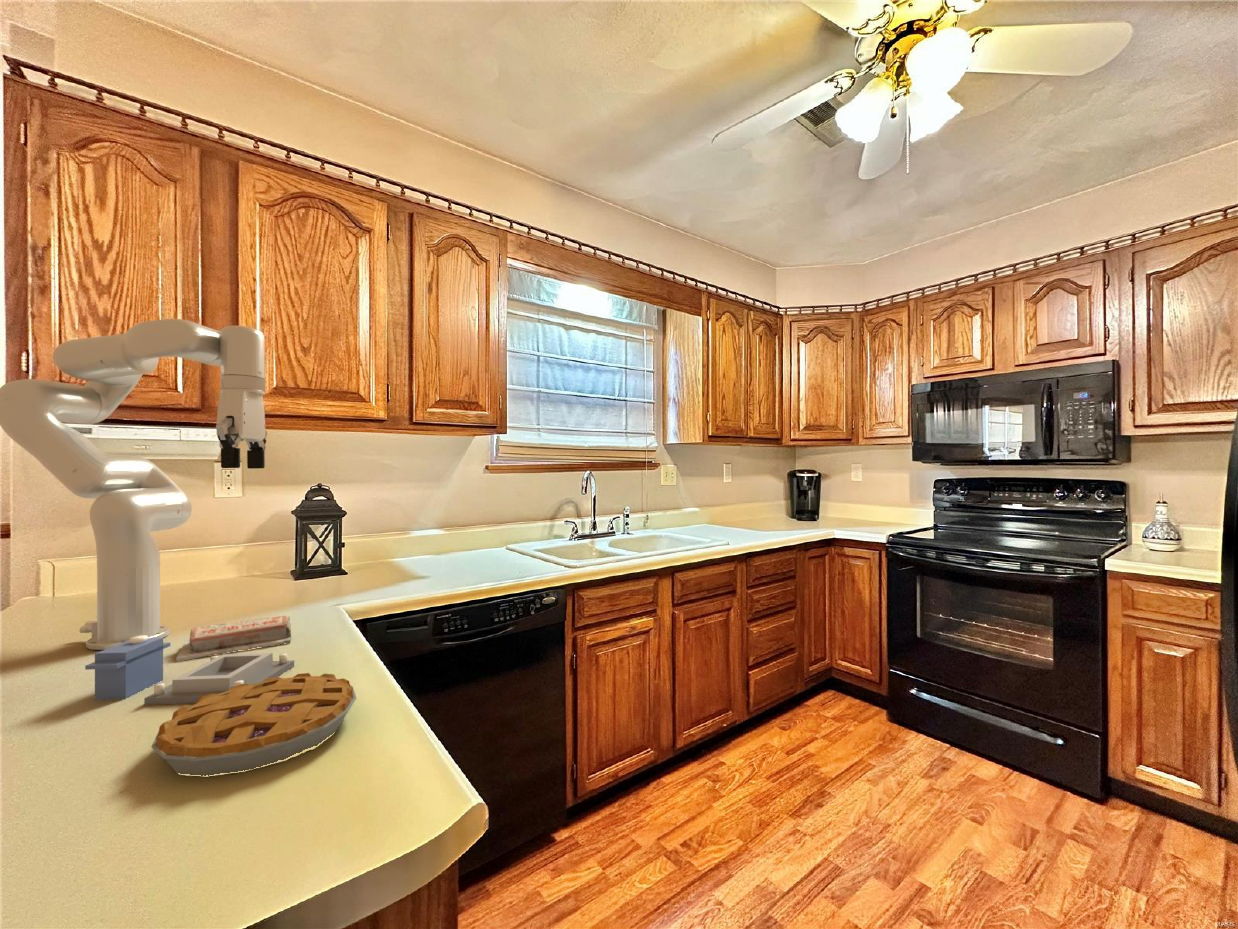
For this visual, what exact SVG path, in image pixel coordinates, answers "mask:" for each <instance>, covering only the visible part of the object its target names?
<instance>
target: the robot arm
mask: <svg viewBox="0 0 1238 929" xmlns="http://www.w3.org/2000/svg"><path fill="white" fill-rule="evenodd" d="M265 343H266V342H265V336H264V333H263V332H262V331H260V330H259V329H256V328H253V327H250V326H243V325H228V326H227V325H226V326H224V327H223V328H221V330H218V329H214V328H211V327H208V326H205V325H202V324H200V323H197V322H193V321H190V320H188V319H181V318H180V319H179V318H166V319H164V318H163V319H157V320H156V319H154V320H147V321H142V322H139V323H136V324H135V325H133V326H131V327H130V328H129V329H128V330H126V332H125V333H119V334H118V333H117V334H110V335H102V336H91V337H85V338H84V337H81V338H75V339H70V340H67V341H64V342H62V343H60V344H59V345H57V346H56V347H55V348H54V350H53V352H52V360H53V363H54V365H55V366H56V367H57V368H58V370H60V371H61V372H62V373H64V374H66V375H67V376H69V377H72V378H75V379H78V380H83V381H86V383H85V384H84V385H79V384H74V383H73V384H72V383H66V382H62V381H61V382H60V381H53V380H47V379H37V378H35V379H34V378H24V379H16V380H13V381H8V382H6V383H5V384H3V385H2V386H0V428H1V429H2V430H3V432H4V433H5V434H7V436H8V437H9V438H10V439H11V440H12V441H13V442H15V443H16V444H17V445H19V446H20V447H21V448H23V449H24V450H25V451H27V452H28V453H29V454H30V455H32V456H33V457H34V458H35V459H36V460H37V461H38V462H39V463H40V464H41V465H42V467H44V468H45V469H46V470H47V471H48V472H49V473H50V474H51V475H52V476H54V478H56V480H58V481H59V482H60V483H61V484H62V485H63V486H64V487H65V488H66V489H67V490H69V492H71V493H72V494H73V495H76V496H77V497H79V498H82V499H83V498H84V499H95V500H94V501H93V502H92V504H91V507H90V509H89V520H90V525H91V528H92V531H93V535H94V541H95V547H96V620H92V621H89V620H88V621H86V622H85V624H84V625H83V626H81V627H80V628H79V631H78V632H79V633H81V634H87V633H88V634H90V633H91V638H89V639H88V640H87V641H86V642H85V647H86V648H87V649H89V650H92V651H93V650H97V651H103V650H106V649H108V648H111V647H114V646H116V645H119V644H122V643H124V642H127V641H129V639H130V638H132V637H135V636H140V635H148V638H163V639H164V638H165V637H167V636H168V635H169V634H170V631H171V630H170V627H169V626H165V625H161V556H160V555H161V554H160V549H159V546H158V544H157V542H156V540H155V538H154V536H153V535H152V533H153V532H159V531H166V530H171V529H175V528H178V527H180V526H182V525H183V524H185V523H186V522H187V521H188V520H189V519H190V517H191V515H192V503H191V500H190V498H189V497H188V495H187V493H186V492H184V491H183V490H182V488H180V486H178V485H177V483H176V482H174V481H173V480H172V479H171V478H170V477H169V476H168V475H167V474H166V473H165V472H164V471H163V470H162V469H161V468H159V467H158V465H156V464H155V463H153V461H151V460H148V459H146V458H145V457H142V456H138V455H131V454H116V453H115V454H114V453H108V452H105V451H103V450H102V449H100V448H99V447H97V446H96V445H95V444H94V443H92V441H91V440H90V439H88V437H87V436H86V435H84V434H83V433H81V432H79V431H78V430H76V429H74V428H72V427H70V426H68V425H67V424H65V423H69V424H79V425H93V424H98V423H100V422H103V421H105V420H106V419H107V418H109V417H110V415H112V414H113V412H114V411H116V409H117V408H118V407H119V406H120V404H122V403H123V401H124V400H125V399H126V398H127V397H128V395H130V393H131V392H132V391H133V390H134V388H135V387H136V386H137V385H138V384H139V382H140V381H141V379H142V376H143V375H146V374H150V373H152V372H154V371H155V370H156V369H157V367H158V365H159V360H160V359H161V358H172V357H173V358H175V357H176V358H180V359H181V358H182V359H186V360H188V361H189V360H190V361H193V362H197V363H201V364H205V365H209V366H212V367H213V366H214V367H220V393H219V397H218V401H217V413H216V425H215V429H216V437H217V439H218V442H219V444H218V446H219V448H220V467H221V469H240V468H241V448H240V447H239V445H240V443H241V442H242V441H244V440H245V443H246V445H247V447H248V450H247V451H246V459H247V460H246V465H247V469H251V470H253V469H255V470H256V469H265V466H266V465H265V464H266V463H265V461H266V460H265V457H266V456H265V453H266V452H265V451H266V443H267V436H268V431H267V430H266V415H265V413H266V412H265V403H264V397H263V396H265V395H266V379H265V378H266V369H265V368H266V367H265V366H266V365H265V364H266V361H265V360H266V358H265V357H266V356H265V355H266V354H265V352H266V350H265V348H266V347H265V345H266V344H265Z"/></svg>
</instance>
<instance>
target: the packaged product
mask: <svg viewBox="0 0 1238 929" xmlns="http://www.w3.org/2000/svg"><path fill="white" fill-rule="evenodd" d="M290 620H291V619H290V616H289V615H282V616H280V615H279V616H272V617H265V618H255V619H249V620H242V621H241V620H240V621H234V622H232V621H231V622H227V623H226V622H225V623H217V624H211V625H210V624H209V625H202V626H201V625H200V626H196V627H193V628H191V629H190V634H189V639H188V640H185V641H184V643H183V645H182V646H181V649H180V650H179V652H178V653H177V656H176V657H175V658H176V659H175V661H176V662H183V661H188V660H189V661H190V659H191V660H195V658H196V659H200V658H199V657H201V658H207V657H206V656H209V655H214V654H222V655H223V653H227V652H233V651H238V650H247V651H249V650H248V649H252V648H257V647H265V648H269V647H268V646H271V647H274V646H273V645H277V646H281V645H280V644H284V643H290V644H291V642H292V628H291V626H292V624H291V621H290ZM284 645H285V644H284ZM209 657H210V656H209Z"/></svg>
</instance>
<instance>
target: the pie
mask: <svg viewBox="0 0 1238 929" xmlns="http://www.w3.org/2000/svg"><path fill="white" fill-rule="evenodd" d="M356 695H357V694H356V691H355V689H354V687H353V685H351V684H350V681H349V680H348V679H346V678H345V677H344V678H336V675H335V674H333V673H323V674H321V675H311V674H310V673H309V672H305V673H297V674H296V675H294V676H293V677H280V676H279V677H276V678H270V679H265V680H264V681H262V682H260V683H255V684H251V685H248V684H245V683H244V684H240V685H236V686H232V687H231V688H230V690H228V691H226V692H223V693H220V694H209V695H205V696H201V697H199V698H198V701H197V703H194V704H193V705H182V706H180V707H179V708H177V709H176V710H175V711H174V712H173V713H172V717H171V719H169V720H167V721H164V722H162V723H161V724H160V725H159V726H158V728H159V729H158V731H157V734H156V736H155V738H154V741H153V742H152V744H151V745H150V746H151V748H152V749H153V751H155V752H156V753H157V754H158V755H159V756H160V757H161V758H162V759H163V760H165V761H166V762H167V763H168V765H170V767H171V768H172V769H173V771H174V772H175V771H176V772H177V773H180V774H190V775H201V776H203V775H204V776H206V775H208V776H209V775H214V774H220V773H230V772H238V771H243V770H244V771H245V770H249V769H254V768H256V767H261V766H263V765H267V764H270V763H274V762H277V761H278V760H284V759H286V758H288V757H290V756H292V755H294V754H296V753H300V752H302V751H303V750H305V749H308V748H311V747H313V746H317V745H318V744H319V743H321V742H322V741H323V740H325V739H326V738H327V737H329V736H330V735H332V734H333V733H334V732H336V733H337V731H338V730H337V729H339V728H340V726H341V725H340V724H342V723H343V722H342V721H344V720H345V718H346V716H347V714H348V713H349V711H350V710H351V708H352V707H353V705H354V703H355V702H356V700H357V696H356ZM338 727H339V728H338ZM336 730H337V731H336ZM176 772H175V773H176ZM177 773H176V774H177Z"/></svg>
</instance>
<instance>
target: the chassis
mask: <svg viewBox="0 0 1238 929" xmlns="http://www.w3.org/2000/svg"><path fill="white" fill-rule="evenodd" d="M273 655H274V654H273V652H260V653H259V652H258V653H257V652H255V653H228V654H222V655H215V656H209V657H210V658H209V661H207V662H205V663H203V664H201V665H199V666H197V667H195V668H193V669H191V670H189V671H187V672H185V673H183V674H181V675H179V676H177V677H175V678H173V679H172V681H171V682H172V683H171V684H169V685H165V683H164V682H159V683H157V684H155V685H153V689H154V690H153V693H152V694H150V695H148V696H146V697H144V699H143V700H144V701H143V702H144V706H153V705H176V704H179V705H180V704H181V705H183V704H196V703H197V701H198V698H199V697H201V696H205V695H209V694H220V693H223V692H226V691H228V690H230V688H231V687H232V686H236V685H240V684H244V683H245V684H248V685H251V684H255V683H260V682H262V681H264V680H265V679H270V678H276V677H278V676H279V677H280V676H282V675H283V674H285V673H286V672H287V671H289V670H290V668H291V667H292V668H294V667H295V660H288V653H281V654H279V655H278V660H273V659H274V658H273ZM292 668H291V669H292ZM285 671H286V672H285ZM284 672H285V673H284ZM281 674H282V675H281ZM165 686H166V687H165Z"/></svg>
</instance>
